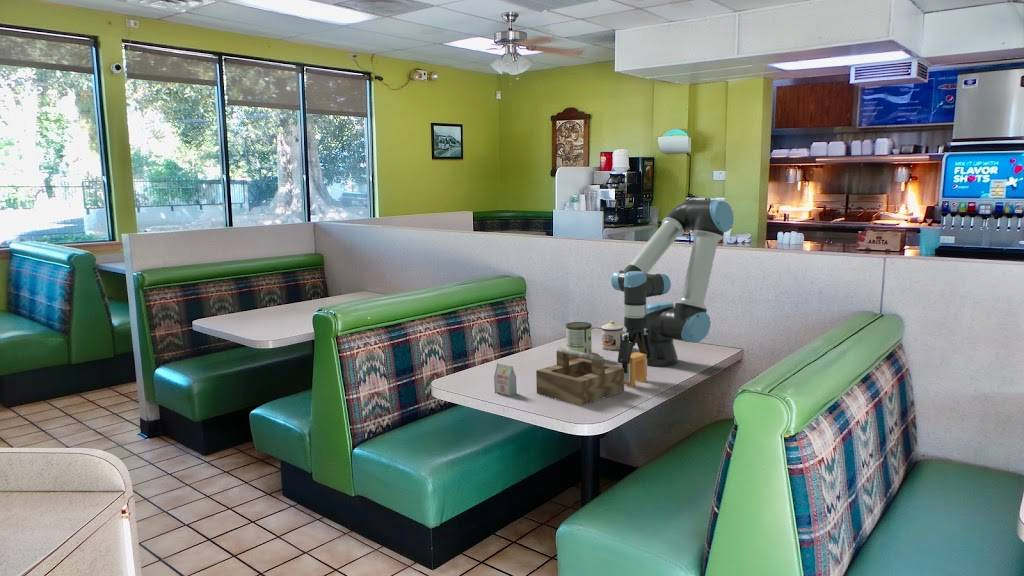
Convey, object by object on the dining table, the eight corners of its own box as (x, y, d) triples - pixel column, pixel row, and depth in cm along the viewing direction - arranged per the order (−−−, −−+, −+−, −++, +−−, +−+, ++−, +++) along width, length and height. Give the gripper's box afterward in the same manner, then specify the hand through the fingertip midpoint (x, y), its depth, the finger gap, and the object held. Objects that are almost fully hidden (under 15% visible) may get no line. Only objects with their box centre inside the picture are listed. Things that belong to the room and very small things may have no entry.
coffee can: (566, 355, 288) (565, 321, 286) (591, 355, 287) (591, 321, 285) (565, 361, 278) (565, 327, 276) (592, 361, 277) (591, 327, 275)
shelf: (579, 379, 253) (579, 341, 251) (624, 390, 239) (624, 350, 237) (536, 393, 239) (535, 353, 236) (581, 406, 224) (580, 363, 222)
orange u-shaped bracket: (637, 379, 252) (637, 352, 250) (646, 381, 249) (646, 354, 247) (623, 384, 246) (623, 356, 245) (632, 386, 244) (632, 358, 242)
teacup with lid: (597, 348, 298) (597, 321, 296) (607, 344, 305) (607, 318, 303) (622, 352, 291) (622, 324, 289) (632, 347, 298) (632, 320, 296)
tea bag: (501, 390, 243) (501, 362, 242) (516, 393, 239) (515, 365, 237) (494, 392, 241) (493, 364, 239) (509, 396, 236) (508, 367, 235)
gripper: (645, 310, 254) (644, 370, 257) (606, 319, 239) (606, 383, 243) (662, 312, 249) (662, 374, 252) (624, 322, 234) (624, 387, 237)
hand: (634, 378), depth 247 cm, fingers open, 9 cm apart
